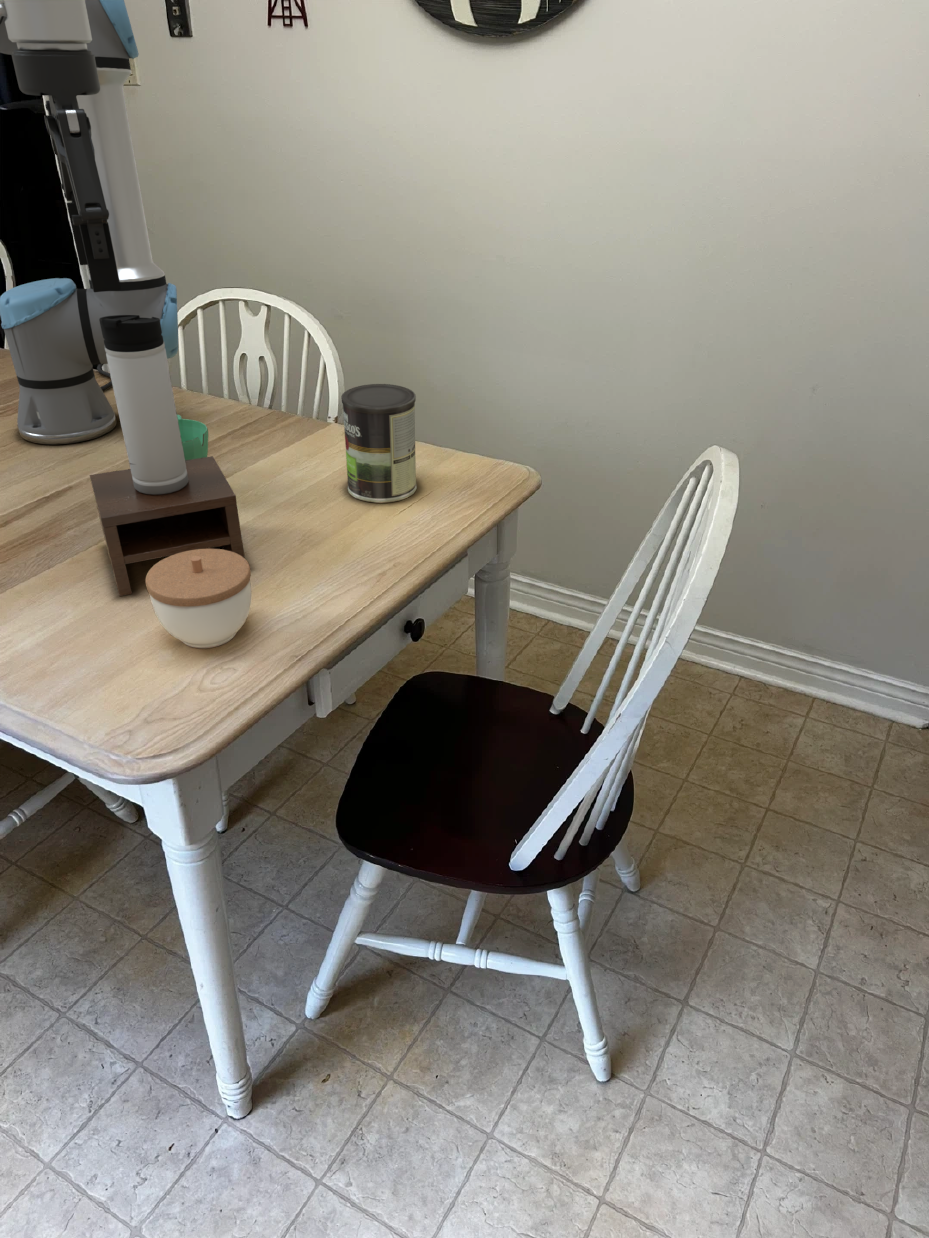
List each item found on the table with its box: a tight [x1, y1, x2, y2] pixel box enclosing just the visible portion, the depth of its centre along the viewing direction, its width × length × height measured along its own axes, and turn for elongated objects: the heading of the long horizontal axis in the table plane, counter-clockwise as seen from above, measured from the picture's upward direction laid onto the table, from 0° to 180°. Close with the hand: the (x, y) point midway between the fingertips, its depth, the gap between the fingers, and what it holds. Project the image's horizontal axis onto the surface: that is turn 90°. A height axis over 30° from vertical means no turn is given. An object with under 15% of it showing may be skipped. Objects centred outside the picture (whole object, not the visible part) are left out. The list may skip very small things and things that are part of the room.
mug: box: [177, 413, 209, 460], centre depth 124 cm, size 15×10×10 cm
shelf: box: [89, 455, 246, 597], centre depth 107 cm, size 13×15×10 cm
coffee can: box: [341, 383, 418, 504], centre depth 125 cm, size 10×10×14 cm
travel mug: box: [99, 315, 188, 495], centre depth 99 cm, size 6×7×20 cm
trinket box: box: [144, 548, 253, 649], centre depth 94 cm, size 11×11×9 cm
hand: (99, 277), depth 96 cm, fingers open, 13 cm apart
